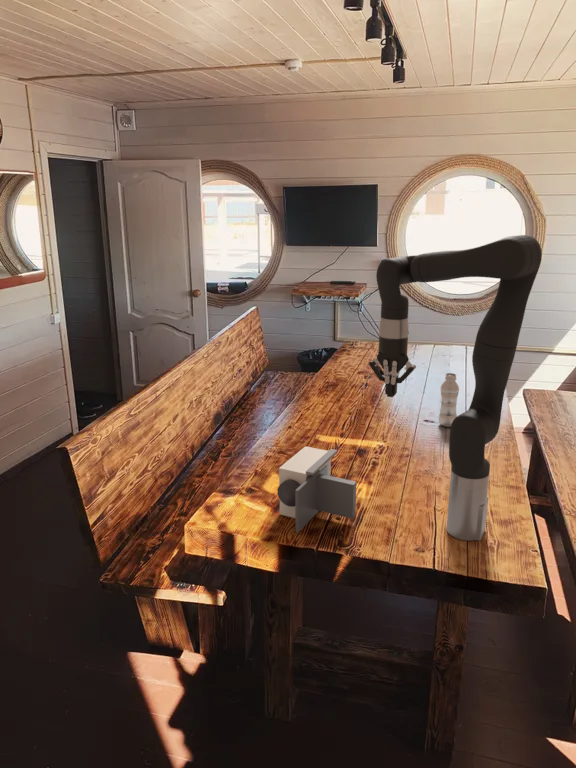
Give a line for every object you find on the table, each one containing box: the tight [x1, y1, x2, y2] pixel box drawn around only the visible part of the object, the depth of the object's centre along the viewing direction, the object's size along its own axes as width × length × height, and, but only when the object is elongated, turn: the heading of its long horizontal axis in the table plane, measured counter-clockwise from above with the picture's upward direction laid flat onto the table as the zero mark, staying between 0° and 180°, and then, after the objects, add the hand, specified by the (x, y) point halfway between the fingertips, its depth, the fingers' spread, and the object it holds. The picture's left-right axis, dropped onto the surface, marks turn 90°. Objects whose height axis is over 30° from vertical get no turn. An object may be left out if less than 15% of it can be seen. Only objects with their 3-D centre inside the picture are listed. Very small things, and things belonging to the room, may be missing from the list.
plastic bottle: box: [438, 372, 460, 428], centre depth 224 cm, size 6×7×20 cm
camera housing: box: [276, 446, 338, 519], centre depth 169 cm, size 10×18×15 cm, turn 152°
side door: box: [294, 470, 357, 534], centre depth 158 cm, size 11×13×12 cm
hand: (390, 396), depth 166 cm, fingers closed
